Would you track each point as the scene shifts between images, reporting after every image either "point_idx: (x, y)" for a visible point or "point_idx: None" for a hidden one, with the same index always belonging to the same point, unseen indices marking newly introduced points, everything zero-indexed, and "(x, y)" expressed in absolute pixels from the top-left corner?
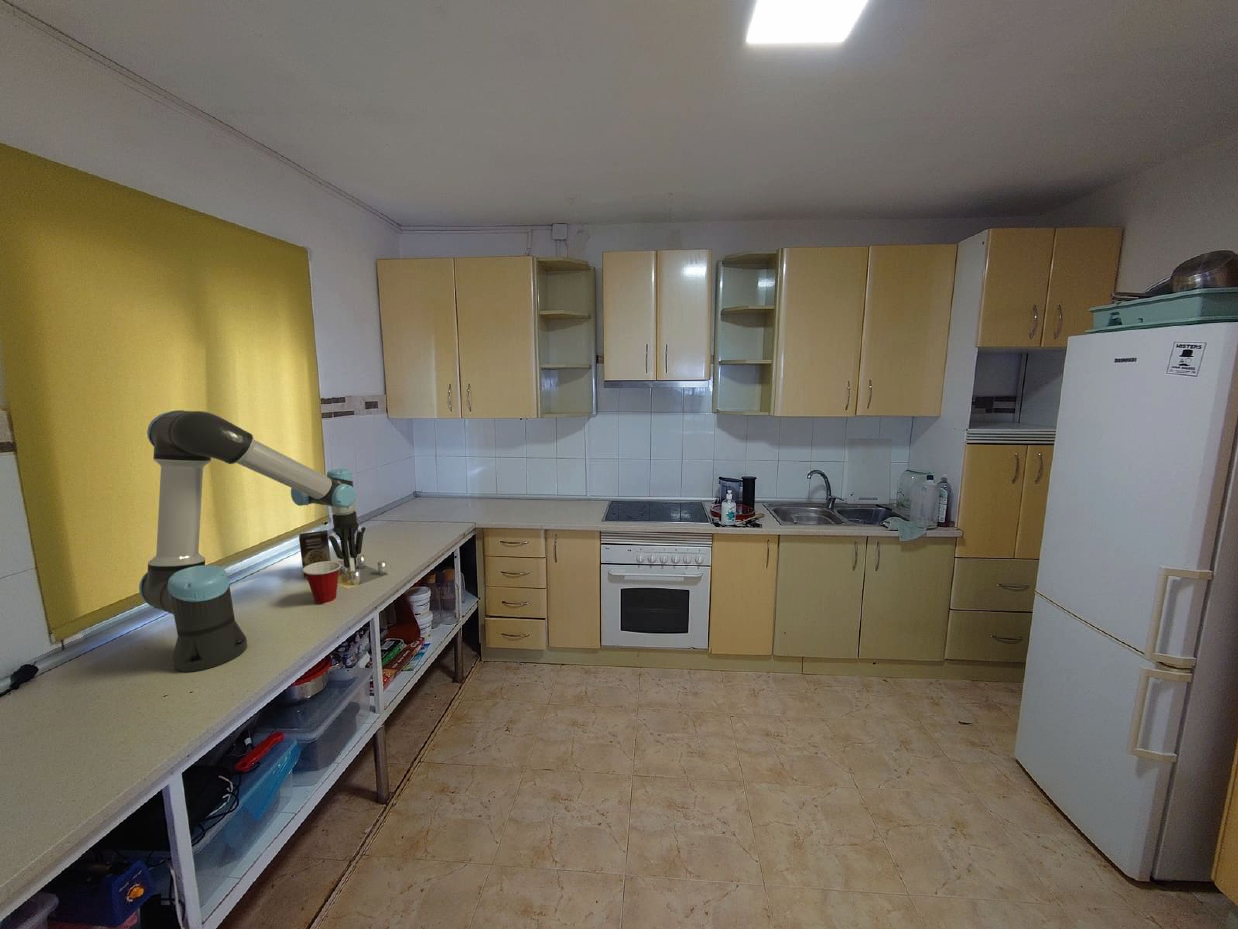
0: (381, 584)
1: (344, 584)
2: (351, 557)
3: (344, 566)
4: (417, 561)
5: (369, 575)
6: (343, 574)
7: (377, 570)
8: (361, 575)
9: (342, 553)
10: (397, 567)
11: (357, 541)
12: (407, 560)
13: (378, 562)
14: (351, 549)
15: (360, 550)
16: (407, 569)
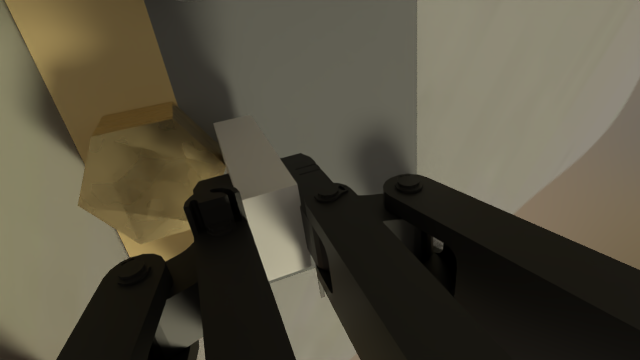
0: (333, 324)
1: (156, 241)
2: (300, 234)
3: (195, 187)
4: (598, 118)
5: (341, 178)
6: (167, 198)
7: (413, 121)
8: (303, 141)
9: (203, 292)
10: (503, 133)
11: (555, 350)
12: (597, 52)
13: (440, 245)
14: (355, 332)
15: (439, 270)
16: (505, 202)
